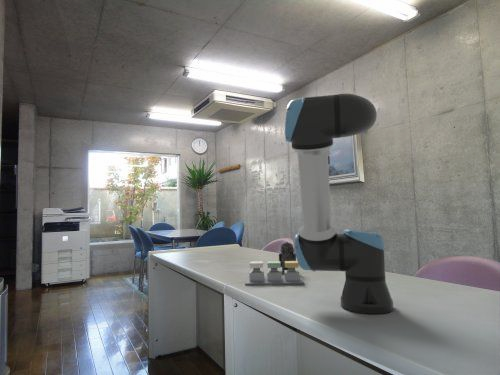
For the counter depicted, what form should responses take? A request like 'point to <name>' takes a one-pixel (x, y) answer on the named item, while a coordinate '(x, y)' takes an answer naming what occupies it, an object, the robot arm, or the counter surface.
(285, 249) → the toy
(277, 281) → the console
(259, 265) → the button white
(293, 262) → the button ochre
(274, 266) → the button green
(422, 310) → the counter surface
